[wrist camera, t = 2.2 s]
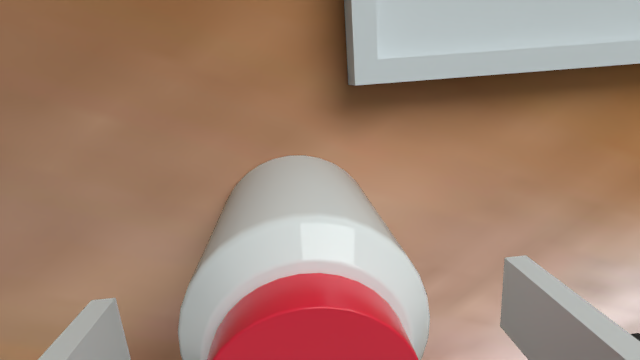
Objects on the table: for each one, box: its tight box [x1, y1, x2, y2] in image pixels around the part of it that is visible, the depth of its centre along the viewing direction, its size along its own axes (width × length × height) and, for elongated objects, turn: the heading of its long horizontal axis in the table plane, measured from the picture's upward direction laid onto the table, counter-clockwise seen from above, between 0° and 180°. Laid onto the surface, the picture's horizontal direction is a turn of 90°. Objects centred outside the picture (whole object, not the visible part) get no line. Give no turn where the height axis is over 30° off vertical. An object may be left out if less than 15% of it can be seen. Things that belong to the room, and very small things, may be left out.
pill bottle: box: [178, 155, 430, 360], centre depth 14 cm, size 8×8×11 cm
